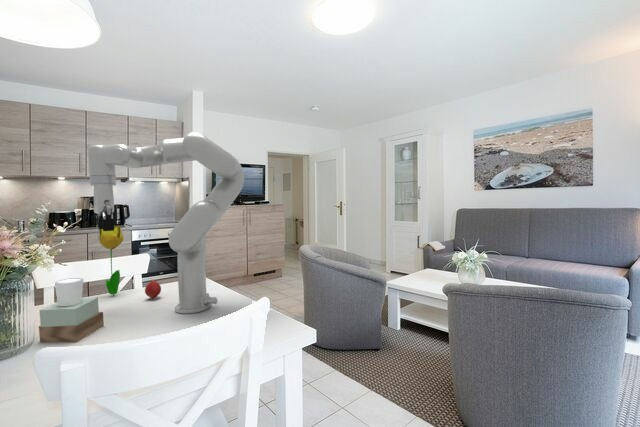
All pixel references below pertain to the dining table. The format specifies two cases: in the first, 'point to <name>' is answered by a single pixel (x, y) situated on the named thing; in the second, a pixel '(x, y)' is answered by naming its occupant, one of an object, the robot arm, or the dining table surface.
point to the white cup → (69, 291)
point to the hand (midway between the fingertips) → (106, 229)
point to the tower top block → (68, 313)
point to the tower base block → (71, 330)
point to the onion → (153, 289)
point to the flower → (110, 242)
